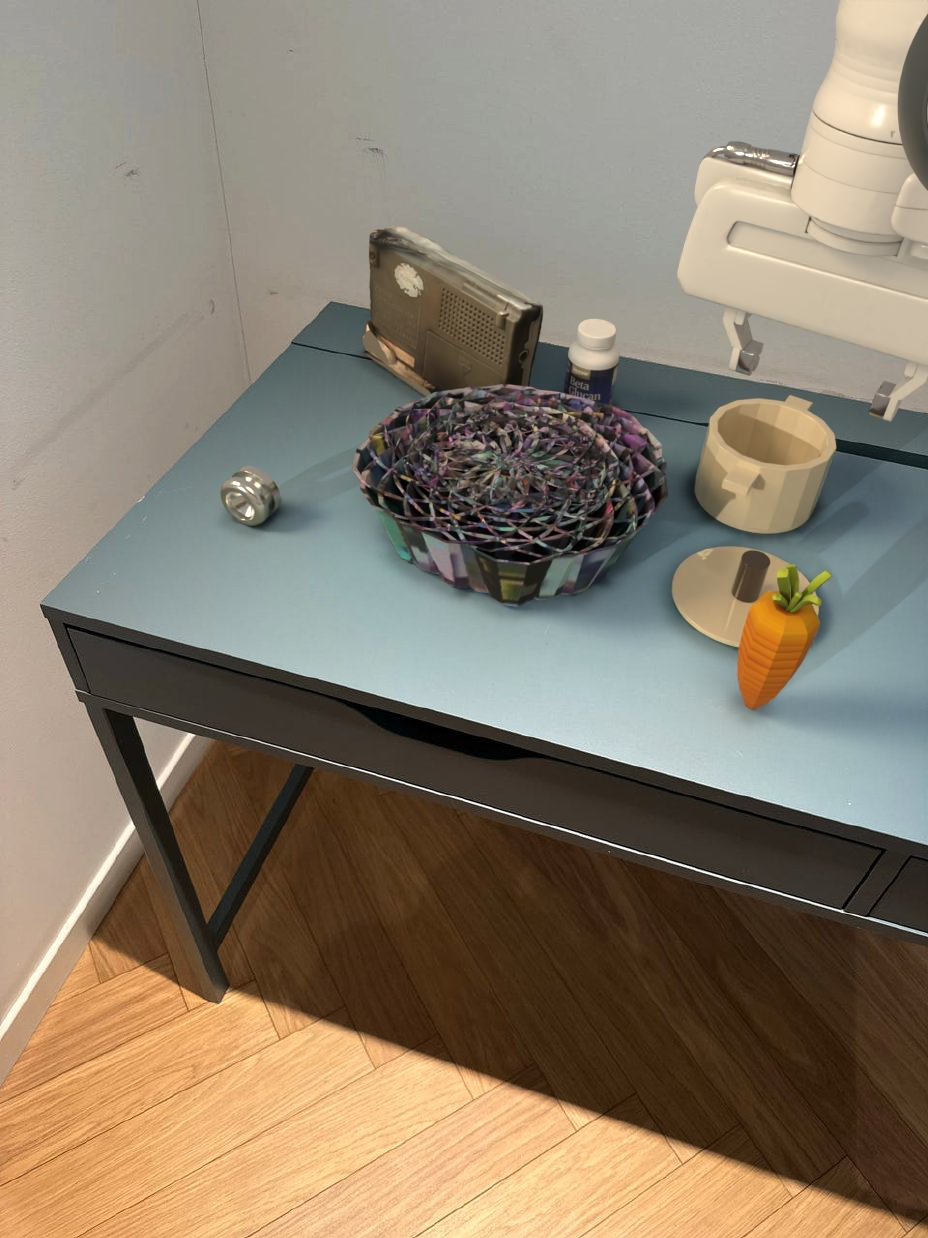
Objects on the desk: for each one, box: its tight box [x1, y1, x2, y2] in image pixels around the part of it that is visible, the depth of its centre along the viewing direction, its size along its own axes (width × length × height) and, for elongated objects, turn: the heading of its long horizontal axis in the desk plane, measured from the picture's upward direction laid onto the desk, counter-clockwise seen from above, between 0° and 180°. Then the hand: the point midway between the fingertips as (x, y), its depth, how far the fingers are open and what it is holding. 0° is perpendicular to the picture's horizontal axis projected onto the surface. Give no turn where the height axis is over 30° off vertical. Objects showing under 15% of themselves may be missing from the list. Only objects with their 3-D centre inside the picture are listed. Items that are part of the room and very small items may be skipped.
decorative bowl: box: [351, 384, 669, 608], centre depth 87 cm, size 26×28×10 cm
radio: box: [362, 225, 544, 397], centre depth 103 cm, size 23×9×15 cm, turn 38°
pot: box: [694, 394, 837, 535], centre depth 93 cm, size 12×17×8 cm
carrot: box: [736, 563, 834, 710], centre depth 71 cm, size 5×5×15 cm
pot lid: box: [671, 545, 820, 648], centre depth 83 cm, size 13×13×5 cm
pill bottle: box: [562, 318, 620, 406], centre depth 102 cm, size 5×5×10 cm
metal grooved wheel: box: [219, 465, 282, 526], centre depth 89 cm, size 5×3×5 cm, turn 64°
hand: (810, 391), depth 63 cm, fingers open, 8 cm apart
